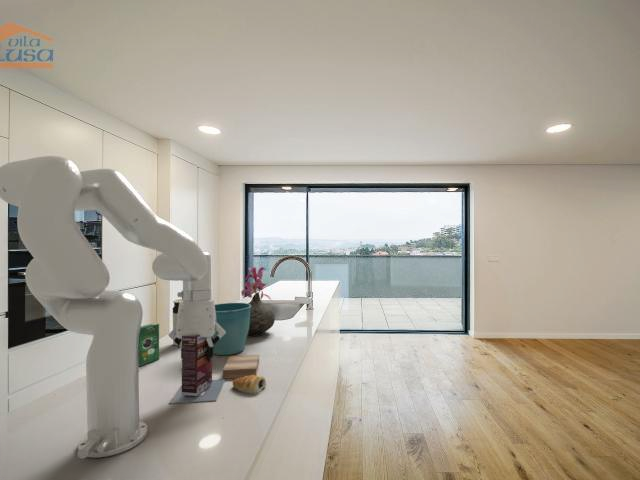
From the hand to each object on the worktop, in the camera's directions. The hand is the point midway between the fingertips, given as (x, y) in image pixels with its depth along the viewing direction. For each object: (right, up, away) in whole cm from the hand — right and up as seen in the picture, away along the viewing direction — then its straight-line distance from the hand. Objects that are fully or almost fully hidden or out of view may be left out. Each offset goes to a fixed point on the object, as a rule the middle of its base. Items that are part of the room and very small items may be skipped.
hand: (197, 360), depth 98 cm
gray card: (0, -9, 0) cm, 9 cm away
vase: (+5, -9, +61) cm, 62 cm away
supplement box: (0, -8, 0) cm, 8 cm away
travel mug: (-22, -10, +47) cm, 53 cm away
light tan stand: (+9, -9, +16) cm, 20 cm away
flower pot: (-1, -9, +36) cm, 38 cm away
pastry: (+14, -9, +2) cm, 17 cm away
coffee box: (-26, -10, +25) cm, 37 cm away
